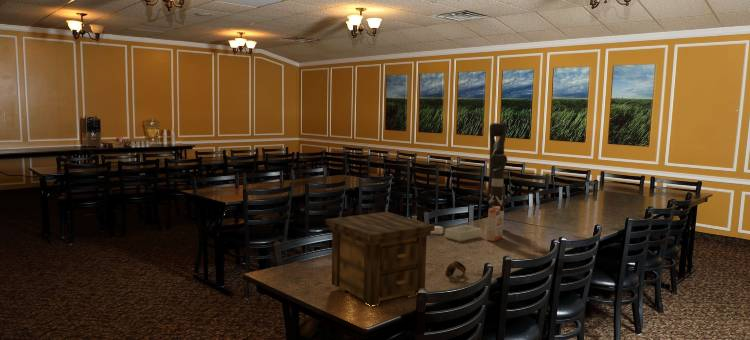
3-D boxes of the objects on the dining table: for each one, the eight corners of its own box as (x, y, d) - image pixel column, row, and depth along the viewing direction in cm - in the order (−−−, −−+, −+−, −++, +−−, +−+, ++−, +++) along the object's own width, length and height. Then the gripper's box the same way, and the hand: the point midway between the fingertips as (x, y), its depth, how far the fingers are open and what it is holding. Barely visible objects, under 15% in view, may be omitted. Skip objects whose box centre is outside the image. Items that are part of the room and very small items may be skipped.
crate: (385, 275, 263) (386, 211, 259) (432, 296, 235) (434, 225, 231) (324, 288, 242) (325, 219, 239) (368, 313, 214) (369, 235, 210)
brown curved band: (447, 272, 273) (456, 259, 272) (461, 283, 268) (470, 270, 267) (438, 272, 263) (447, 258, 261) (453, 283, 258) (462, 270, 257)
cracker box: (495, 242, 335) (496, 209, 333) (486, 240, 339) (487, 208, 336) (503, 237, 347) (504, 206, 344) (494, 236, 350) (495, 205, 348)
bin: (445, 237, 344) (445, 228, 343) (466, 233, 357) (466, 225, 356) (459, 241, 334) (460, 232, 334) (480, 237, 347) (481, 228, 347)
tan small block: (436, 231, 363) (436, 225, 362) (445, 233, 356) (445, 227, 356) (428, 232, 358) (428, 226, 357) (437, 234, 351) (437, 229, 351)
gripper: (510, 186, 336) (508, 211, 337) (492, 183, 347) (490, 207, 348) (502, 187, 331) (501, 212, 333) (484, 184, 342) (483, 208, 344)
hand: (496, 209), depth 341 cm, fingers open, 8 cm apart
